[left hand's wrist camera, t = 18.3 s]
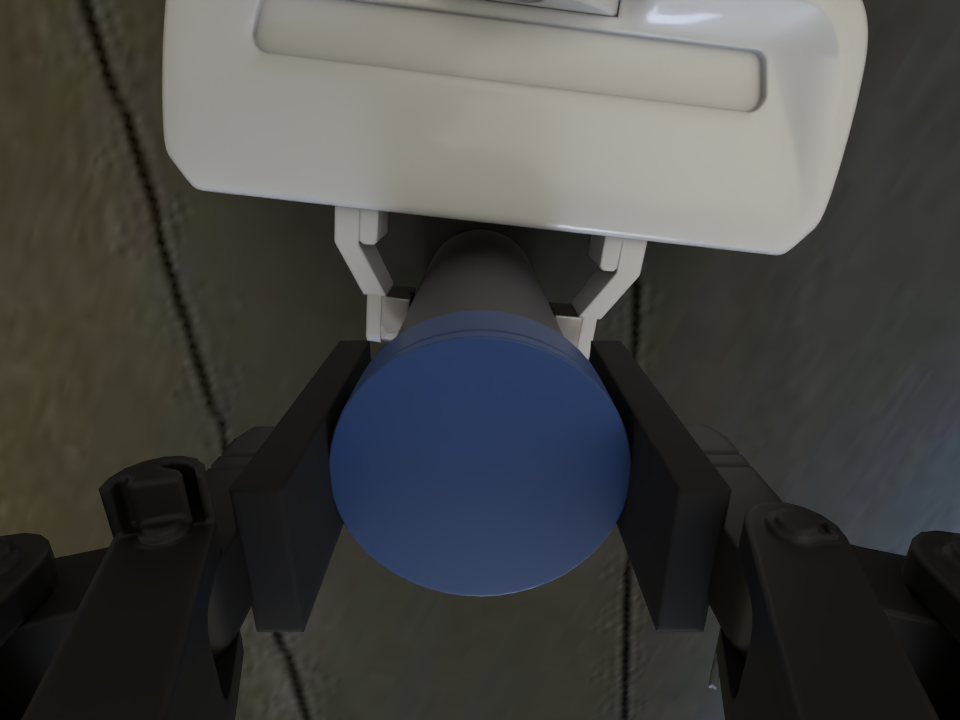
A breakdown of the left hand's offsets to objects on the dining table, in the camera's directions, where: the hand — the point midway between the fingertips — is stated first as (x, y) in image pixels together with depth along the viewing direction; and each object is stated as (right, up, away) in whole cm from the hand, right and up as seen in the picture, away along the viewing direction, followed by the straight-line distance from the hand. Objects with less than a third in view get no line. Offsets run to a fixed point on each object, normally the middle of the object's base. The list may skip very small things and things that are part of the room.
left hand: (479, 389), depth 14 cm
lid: (0, -1, -4) cm, 4 cm away
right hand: (0, +1, +6) cm, 6 cm away
